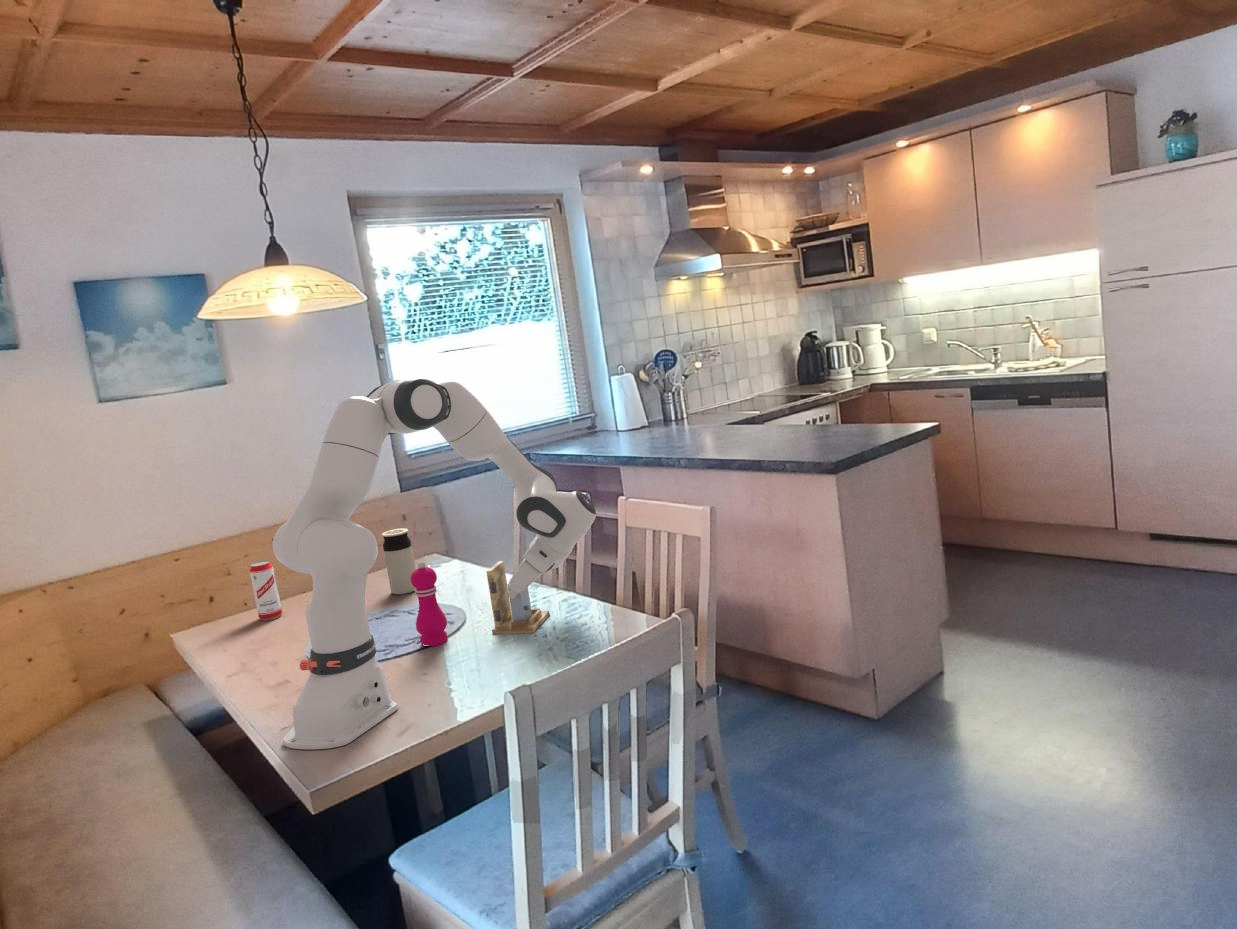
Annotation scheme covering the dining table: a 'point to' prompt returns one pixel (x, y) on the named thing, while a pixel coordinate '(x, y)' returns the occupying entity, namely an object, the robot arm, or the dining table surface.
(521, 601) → the grey rectangular block
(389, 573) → the travel mug
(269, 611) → the beer can
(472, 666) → the dining table surface
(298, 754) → the dining table surface
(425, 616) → the pepper mill
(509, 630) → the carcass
